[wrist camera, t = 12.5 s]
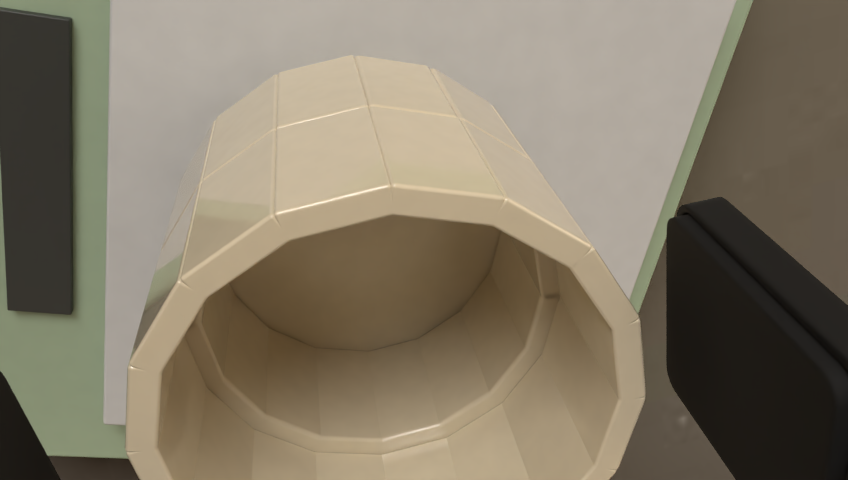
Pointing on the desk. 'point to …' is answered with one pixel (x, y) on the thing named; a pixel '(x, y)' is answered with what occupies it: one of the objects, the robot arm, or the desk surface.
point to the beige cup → (377, 298)
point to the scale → (246, 70)
